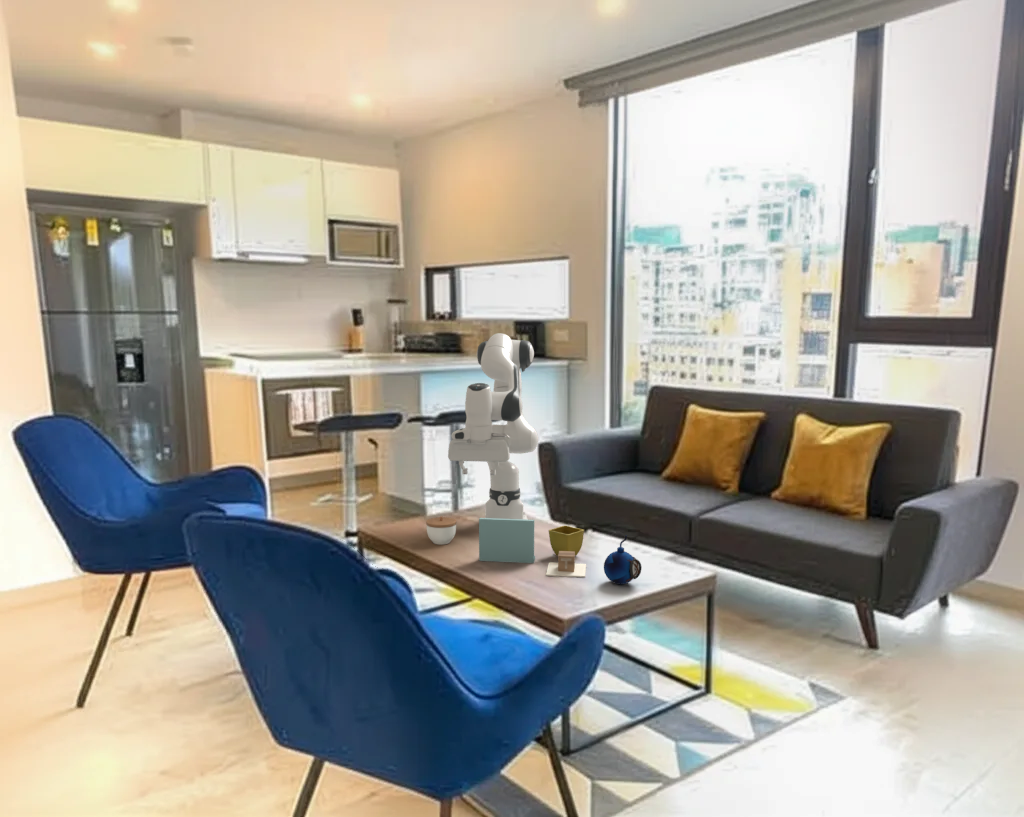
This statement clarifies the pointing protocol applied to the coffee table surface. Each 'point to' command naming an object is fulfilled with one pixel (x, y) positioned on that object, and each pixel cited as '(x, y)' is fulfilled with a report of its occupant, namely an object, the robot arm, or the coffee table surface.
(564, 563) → the brown block
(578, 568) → the pad
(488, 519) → the screen
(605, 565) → the bomb
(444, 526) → the lidded jar
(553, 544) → the flower pot
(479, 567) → the coffee table surface
